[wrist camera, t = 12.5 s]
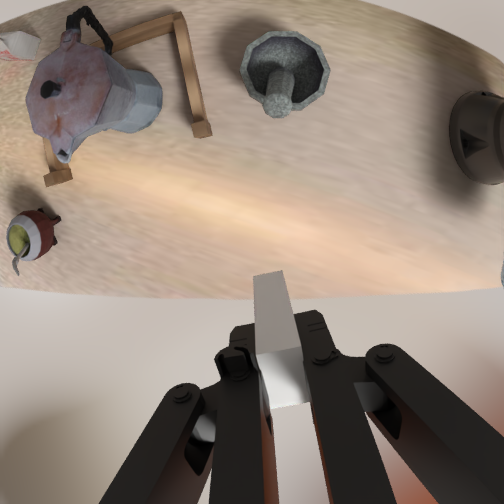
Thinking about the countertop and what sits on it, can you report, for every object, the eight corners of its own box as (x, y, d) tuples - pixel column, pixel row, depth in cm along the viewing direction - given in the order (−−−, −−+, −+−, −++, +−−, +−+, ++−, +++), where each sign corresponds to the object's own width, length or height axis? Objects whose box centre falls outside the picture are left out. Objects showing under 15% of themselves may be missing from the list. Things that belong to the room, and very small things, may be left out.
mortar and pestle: (254, 39, 34) (256, 1, 23) (323, 59, 35) (350, 30, 24) (230, 116, 37) (224, 103, 26) (301, 136, 38) (323, 131, 27)
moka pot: (100, 158, 39) (6, 174, 20) (101, 54, 34) (17, 11, 15) (165, 151, 39) (97, 158, 20) (166, 42, 34) (108, -24, 15)
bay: (212, 135, 38) (207, 133, 33) (64, 182, 39) (46, 187, 35) (187, 20, 33) (180, 6, 28) (45, 77, 34) (27, 73, 29)
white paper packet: (14, 40, 31) (-22, 29, 21) (41, 39, 32) (4, 24, 22) (8, 60, 32) (-30, 52, 22) (33, 60, 33) (-6, 49, 23)
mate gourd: (26, 216, 41) (-36, 244, 27) (57, 193, 40) (-8, 216, 26) (45, 256, 43) (-12, 296, 29) (77, 237, 42) (19, 275, 28)
